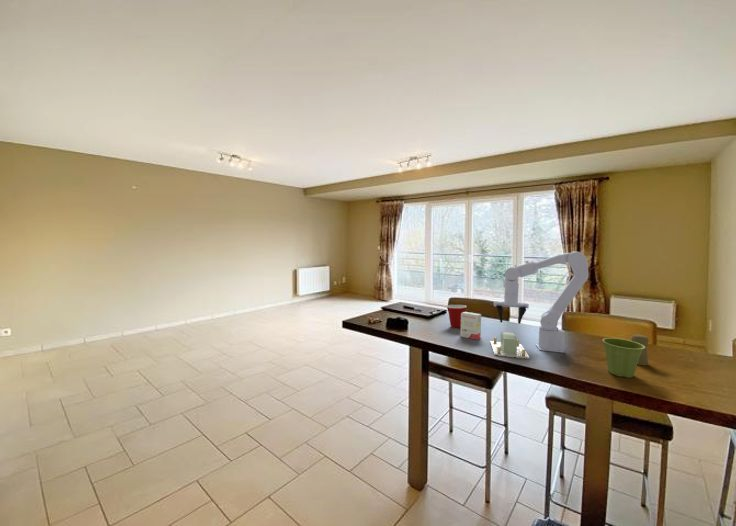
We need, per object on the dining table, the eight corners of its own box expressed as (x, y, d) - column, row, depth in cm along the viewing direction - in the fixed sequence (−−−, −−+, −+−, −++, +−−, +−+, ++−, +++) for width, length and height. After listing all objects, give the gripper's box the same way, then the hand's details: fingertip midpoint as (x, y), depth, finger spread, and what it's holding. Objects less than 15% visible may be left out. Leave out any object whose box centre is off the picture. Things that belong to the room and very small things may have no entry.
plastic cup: (453, 323, 179) (454, 302, 179) (470, 327, 171) (470, 305, 170) (441, 326, 172) (442, 304, 172) (458, 330, 164) (459, 308, 163)
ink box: (481, 337, 153) (482, 313, 152) (477, 340, 149) (478, 315, 148) (464, 334, 158) (464, 311, 157) (459, 336, 154) (460, 312, 154)
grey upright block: (624, 360, 125) (626, 333, 124) (634, 359, 127) (636, 332, 126) (642, 366, 119) (644, 338, 118) (652, 364, 121) (654, 336, 121)
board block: (512, 345, 140) (513, 333, 139) (516, 352, 130) (517, 339, 130) (500, 344, 141) (501, 332, 141) (503, 351, 131) (504, 338, 131)
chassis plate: (521, 345, 141) (521, 339, 141) (529, 359, 125) (529, 351, 125) (490, 342, 145) (490, 336, 145) (494, 355, 129) (494, 348, 128)
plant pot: (597, 373, 112) (599, 342, 111) (603, 364, 120) (605, 335, 120) (641, 384, 104) (643, 351, 103) (644, 374, 112) (646, 343, 111)
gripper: (526, 293, 146) (525, 321, 147) (493, 291, 150) (492, 319, 151) (530, 295, 140) (528, 325, 140) (495, 293, 144) (493, 322, 144)
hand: (510, 322), depth 145 cm, fingers open, 7 cm apart
